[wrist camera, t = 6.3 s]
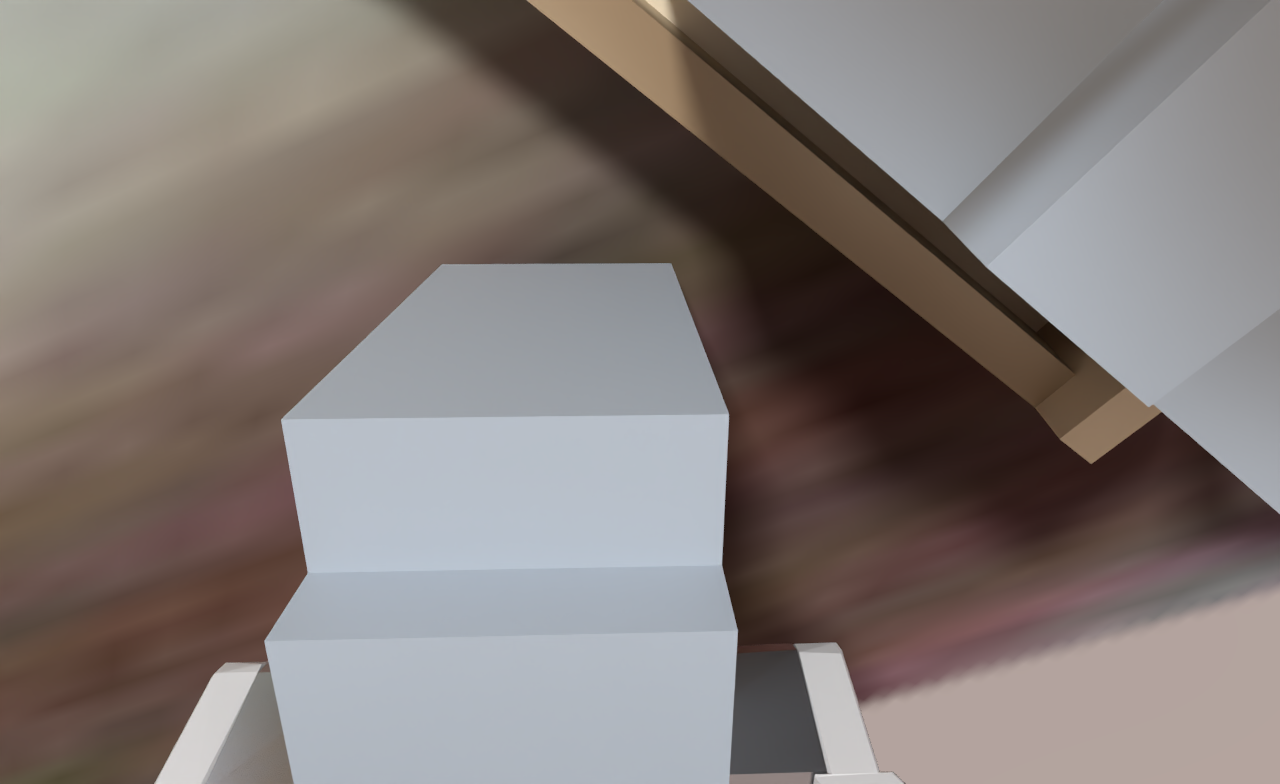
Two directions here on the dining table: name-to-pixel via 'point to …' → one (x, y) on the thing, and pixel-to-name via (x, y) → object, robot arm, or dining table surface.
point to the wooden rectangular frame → (1017, 182)
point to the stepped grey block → (513, 540)
